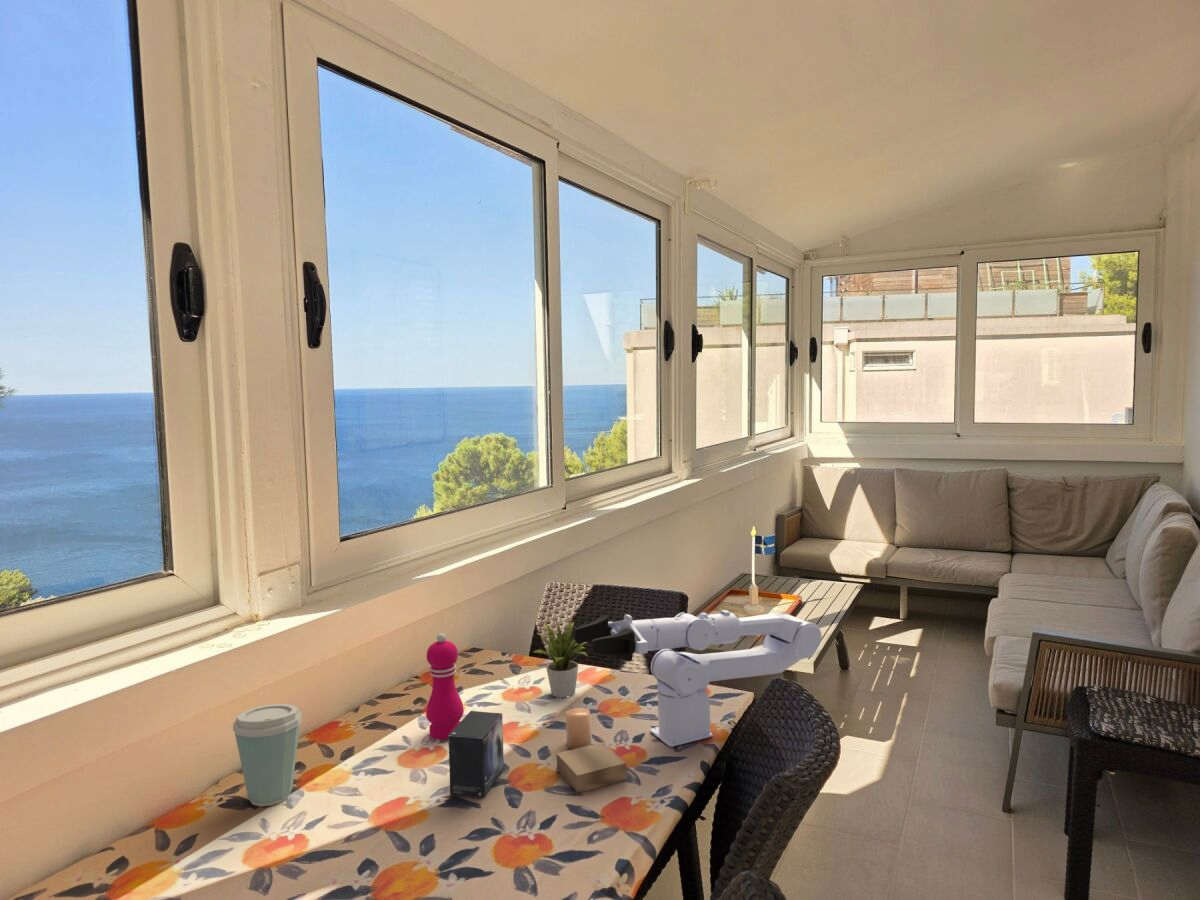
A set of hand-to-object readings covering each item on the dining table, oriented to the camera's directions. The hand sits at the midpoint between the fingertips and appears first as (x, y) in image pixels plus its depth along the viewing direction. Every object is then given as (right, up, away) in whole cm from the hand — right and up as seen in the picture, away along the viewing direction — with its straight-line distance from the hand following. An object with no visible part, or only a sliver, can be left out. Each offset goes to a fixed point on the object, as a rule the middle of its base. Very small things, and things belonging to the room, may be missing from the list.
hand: (583, 640), depth 141 cm
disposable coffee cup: (-52, -24, -9) cm, 58 cm away
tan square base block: (+1, -22, -5) cm, 23 cm away
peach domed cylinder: (-1, -21, +7) cm, 23 cm away
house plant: (-4, -20, +31) cm, 37 cm away
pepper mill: (-27, -22, +14) cm, 38 cm away
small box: (-18, -23, -6) cm, 30 cm away
